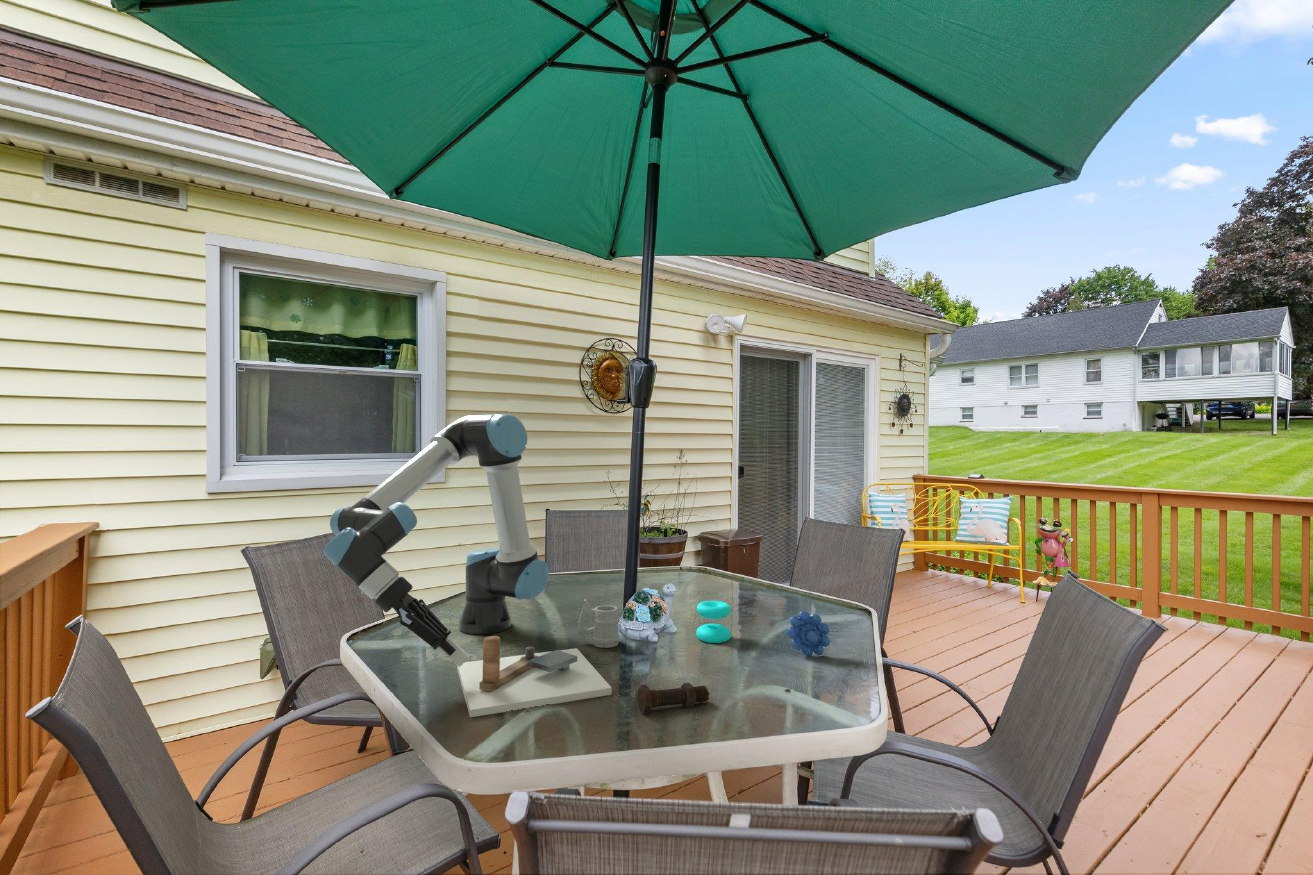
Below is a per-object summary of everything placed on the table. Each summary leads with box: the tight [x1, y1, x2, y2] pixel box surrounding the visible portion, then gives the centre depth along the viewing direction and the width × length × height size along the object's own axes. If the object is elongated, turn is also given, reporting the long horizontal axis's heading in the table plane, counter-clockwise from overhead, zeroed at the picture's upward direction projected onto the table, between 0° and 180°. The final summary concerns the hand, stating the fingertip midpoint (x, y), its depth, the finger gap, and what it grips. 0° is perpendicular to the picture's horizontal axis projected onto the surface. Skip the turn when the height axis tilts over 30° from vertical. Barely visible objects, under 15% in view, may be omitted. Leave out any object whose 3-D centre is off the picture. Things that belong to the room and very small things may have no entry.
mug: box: [577, 599, 621, 649], centre depth 166 cm, size 8×12×12 cm, turn 86°
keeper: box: [528, 649, 577, 672], centre depth 139 cm, size 9×7×5 cm
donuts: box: [695, 600, 732, 644], centre depth 171 cm, size 10×10×10 cm
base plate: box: [456, 647, 613, 718], centre depth 138 cm, size 28×30×2 cm
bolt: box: [636, 682, 710, 715], centre depth 126 cm, size 6×5×15 cm
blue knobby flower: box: [786, 610, 831, 657], centre depth 156 cm, size 12×7×12 cm, turn 95°
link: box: [479, 635, 539, 692], centre depth 137 cm, size 19×4×10 cm, turn 158°
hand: (464, 661), depth 132 cm, fingers closed
